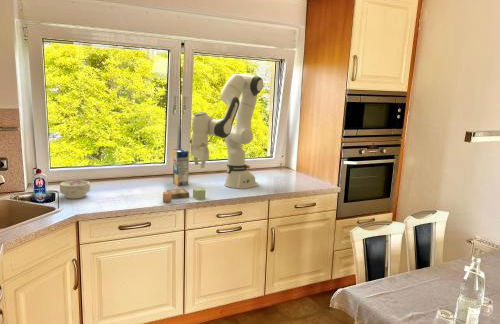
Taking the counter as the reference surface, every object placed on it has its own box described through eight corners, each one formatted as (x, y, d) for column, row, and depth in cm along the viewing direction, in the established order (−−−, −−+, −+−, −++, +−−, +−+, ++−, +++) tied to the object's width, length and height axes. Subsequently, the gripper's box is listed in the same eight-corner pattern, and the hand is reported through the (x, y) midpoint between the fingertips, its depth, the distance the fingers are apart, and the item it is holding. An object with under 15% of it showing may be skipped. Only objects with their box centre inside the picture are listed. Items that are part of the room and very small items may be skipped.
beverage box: (177, 186, 241) (178, 151, 236) (173, 182, 250) (173, 149, 246) (188, 185, 244) (188, 151, 239) (183, 181, 253) (183, 148, 249)
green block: (201, 196, 221) (201, 187, 220) (205, 198, 216) (205, 190, 216) (192, 196, 219) (192, 188, 218) (196, 199, 214) (196, 191, 213)
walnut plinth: (183, 192, 226) (183, 188, 226) (189, 197, 218) (189, 192, 217) (167, 194, 222) (167, 189, 221) (172, 198, 213) (172, 194, 213)
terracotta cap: (169, 200, 211) (169, 191, 210) (172, 202, 207) (172, 193, 206) (161, 200, 209) (161, 192, 208) (164, 203, 205) (164, 194, 204)
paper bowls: (82, 191, 220) (81, 178, 219) (95, 196, 211) (95, 183, 209) (55, 196, 209) (54, 182, 207) (68, 202, 199) (67, 187, 198)
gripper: (212, 144, 204) (211, 169, 206) (198, 139, 222) (198, 162, 224) (201, 144, 201) (200, 170, 203) (188, 139, 219) (188, 163, 221)
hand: (199, 166), depth 214 cm, fingers open, 8 cm apart
